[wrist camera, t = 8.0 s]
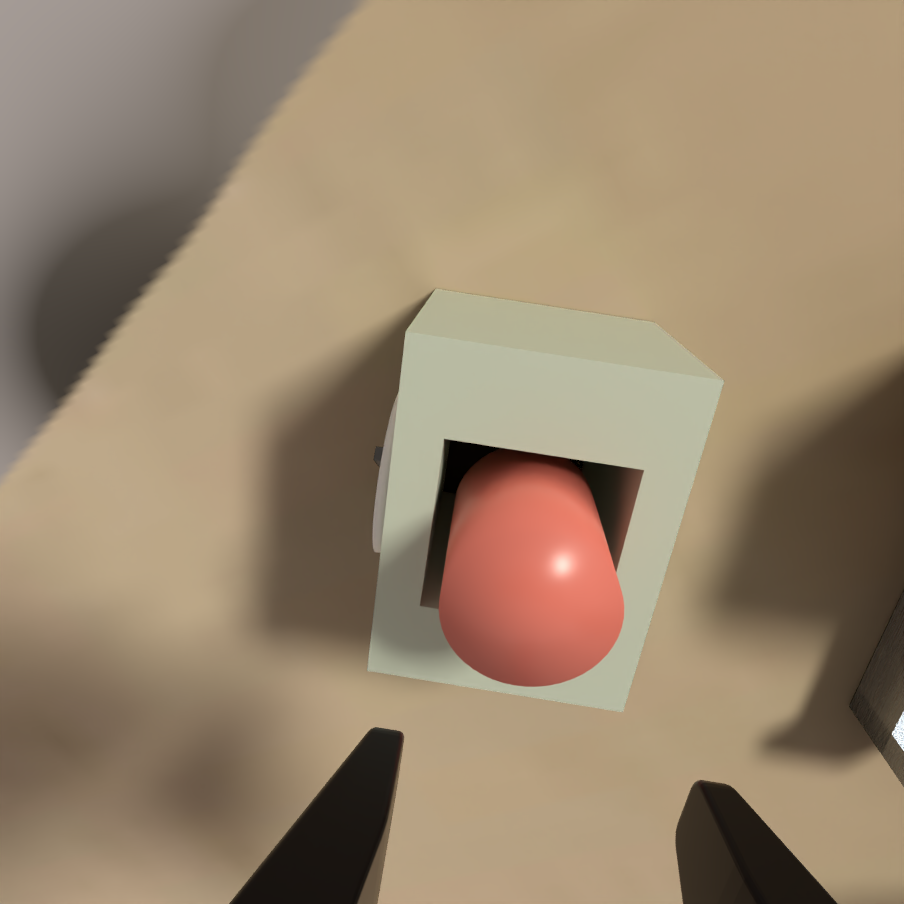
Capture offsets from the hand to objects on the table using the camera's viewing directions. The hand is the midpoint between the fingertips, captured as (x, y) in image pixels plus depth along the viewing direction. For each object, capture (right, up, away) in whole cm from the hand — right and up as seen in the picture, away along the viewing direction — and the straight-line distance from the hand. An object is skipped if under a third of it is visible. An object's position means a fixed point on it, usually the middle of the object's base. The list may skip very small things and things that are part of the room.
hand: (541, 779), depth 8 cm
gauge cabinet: (+1, +4, +11) cm, 12 cm away
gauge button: (+1, +3, +7) cm, 8 cm away
